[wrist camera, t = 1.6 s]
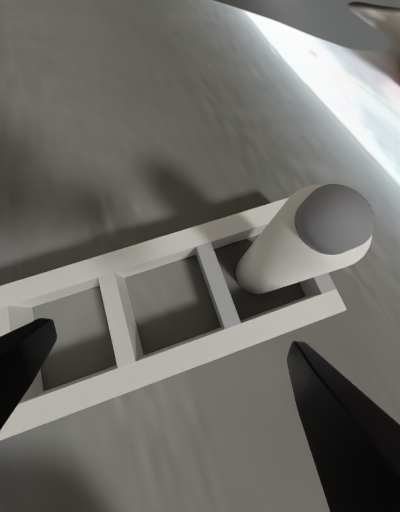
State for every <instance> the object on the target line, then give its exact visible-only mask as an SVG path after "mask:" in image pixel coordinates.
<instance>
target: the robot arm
mask: <svg viewBox="0 0 400 512" xmlns="http://www.w3.org/2000/svg"><path fill="white" fill-rule="evenodd" d="M56 339H57V334H56V330H55V326H54V322H53V320H52V319H47V318H39V319H37V320H35V321H32V322H30V323H28V324H26V325H24V326H22V327H20V328H17V329H15V330H13V331H11V332H9V333H7V334H5V335H2V336H0V430H1V429H2V427H3V426H4V424H5V423H6V421H7V420H8V418H9V417H10V415H11V414H12V413H13V411H14V410H15V408H16V407H17V405H18V404H19V402H20V401H21V399H22V398H23V396H24V395H25V393H26V392H27V391H28V389H29V387H30V386H31V384H32V383H33V381H34V379H35V378H36V376H37V374H38V373H39V371H40V369H41V367H42V365H43V364H44V362H45V360H46V358H47V356H48V355H49V353H50V351H51V349H52V348H53V346H54V344H55V342H56ZM287 364H288V369H289V374H290V378H291V383H292V387H293V392H294V397H295V401H296V405H297V409H298V412H299V416H300V419H301V422H302V425H303V428H304V431H305V434H306V437H307V441H308V444H309V447H310V450H311V453H312V456H313V459H314V462H315V465H316V469H317V472H318V475H319V478H320V481H321V484H322V487H323V490H324V494H325V497H326V500H327V503H328V506H329V509H330V512H400V425H399V424H398V423H397V422H396V421H395V420H394V419H393V418H391V417H390V416H389V415H388V414H387V413H386V412H385V411H383V410H382V409H381V408H380V407H379V406H378V405H376V404H375V403H374V402H373V401H372V400H371V399H370V398H368V397H367V396H366V395H365V394H364V393H363V392H362V391H360V390H359V389H358V388H357V387H356V386H355V385H354V384H352V383H351V382H350V381H349V380H348V379H347V378H346V377H344V376H343V375H342V374H341V373H340V372H339V371H338V370H336V369H335V368H334V367H333V366H332V365H331V364H330V363H328V362H327V361H326V360H325V359H324V358H323V357H322V356H320V355H319V354H318V353H317V352H316V351H315V350H314V349H312V348H311V347H310V346H309V345H308V344H307V343H305V342H301V341H293V342H292V344H291V347H290V350H289V353H288V356H287Z"/></svg>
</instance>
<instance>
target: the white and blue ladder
mask: <svg viewBox="0 0 400 512" xmlns="http://www.w3.org/2000/svg"><path fill="white" fill-rule="evenodd" d="M288 199H289V198H286V199H283V200H280V201H276V202H273V203H270V204H267V205H263V206H260V207H257V208H253V209H250V210H247V211H244V212H240V213H237V214H234V215H231V216H227V217H224V218H221V219H218V220H214V221H211V222H208V223H204V224H201V225H198V226H195V227H191V228H188V229H185V230H182V231H178V232H175V233H172V234H169V235H165V236H162V237H159V238H155V239H152V240H149V241H146V242H142V243H139V244H136V245H133V246H129V247H126V248H123V249H119V250H116V251H113V252H110V253H106V254H103V255H100V256H97V257H93V258H90V259H87V260H84V261H80V262H77V263H74V264H70V265H67V266H64V267H61V268H57V269H54V270H51V271H48V272H44V273H41V274H38V275H35V276H31V277H28V278H25V279H21V280H18V281H15V282H12V283H8V284H5V285H2V286H0V336H2V335H5V334H7V333H9V332H11V331H13V330H15V329H17V328H20V327H22V326H24V325H26V324H28V323H30V322H32V321H34V315H33V308H32V307H35V306H38V305H41V304H44V303H47V302H50V301H53V300H56V299H60V298H63V297H66V296H69V295H72V294H75V293H78V292H81V291H85V290H88V289H91V288H94V287H97V286H100V289H101V293H102V298H103V303H104V307H105V312H106V316H107V321H108V326H109V330H110V335H111V339H112V344H113V348H114V353H115V358H116V362H117V365H116V366H113V367H110V368H107V369H104V370H102V371H99V372H96V373H93V374H91V375H88V376H85V377H82V378H80V379H77V380H74V381H71V382H69V383H66V384H63V385H60V386H57V387H55V388H52V389H49V390H46V391H44V390H43V383H42V375H41V369H40V371H39V373H38V374H37V376H36V378H35V379H34V381H33V383H32V384H31V386H30V387H29V389H28V391H27V392H26V393H25V395H24V396H23V398H22V399H21V401H20V402H19V404H18V405H17V407H16V408H15V410H14V411H13V413H12V414H11V415H10V417H9V418H8V420H7V421H6V423H5V424H4V426H3V427H2V429H1V430H0V440H3V439H5V438H8V437H11V436H13V435H16V434H19V433H21V432H24V431H27V430H29V429H32V428H35V427H37V426H40V425H43V424H45V423H48V422H51V421H53V420H56V419H58V418H61V417H64V416H66V415H69V414H72V413H74V412H77V411H80V410H82V409H85V408H88V407H90V406H93V405H96V404H98V403H101V402H104V401H106V400H109V399H112V398H114V397H117V396H120V395H122V394H125V393H128V392H130V391H133V390H135V389H138V388H141V387H143V386H146V385H149V384H151V383H154V382H157V381H159V380H162V379H165V378H167V377H170V376H173V375H175V374H178V373H181V372H183V371H186V370H189V369H191V368H194V367H197V366H199V365H202V364H205V363H207V362H210V361H212V360H215V359H218V358H220V357H223V356H226V355H228V354H231V353H234V352H236V351H239V350H242V349H244V348H247V347H250V346H252V345H255V344H258V343H260V342H263V341H266V340H268V339H271V338H274V337H276V336H279V335H282V334H284V333H287V332H290V331H292V330H295V329H297V328H300V327H303V326H305V325H308V324H311V323H313V322H316V321H319V320H321V319H324V318H327V317H329V316H332V315H335V314H337V313H340V312H343V311H345V310H347V309H346V307H345V305H344V303H343V301H342V299H341V297H340V295H339V293H338V291H337V289H336V287H335V285H334V283H333V281H332V279H331V277H330V275H329V273H325V274H322V275H319V276H316V277H313V278H310V279H307V280H303V281H300V282H299V283H300V285H301V287H302V290H303V292H304V294H305V296H306V297H304V298H301V299H298V300H295V301H293V302H290V303H287V304H284V305H282V306H279V307H276V308H273V309H271V310H268V311H265V312H262V313H259V314H257V315H254V316H251V317H248V318H246V319H243V320H240V319H239V317H238V314H237V311H236V308H235V306H234V303H233V300H232V298H231V295H230V292H229V290H228V287H227V284H226V281H225V279H224V276H223V273H222V271H221V268H220V265H219V263H218V260H217V257H216V254H215V252H214V249H216V248H219V247H222V246H225V245H228V244H231V243H234V242H237V241H241V240H244V239H247V238H250V237H253V236H256V235H259V234H261V233H262V231H263V230H264V229H265V228H266V226H267V225H268V224H269V222H270V221H271V220H272V219H273V217H274V216H275V215H276V214H277V212H278V211H279V210H280V209H281V207H282V206H283V205H284V204H285V202H286V201H287V200H288ZM194 255H196V256H197V259H198V262H199V265H200V268H201V270H202V273H203V276H204V279H205V282H206V285H207V288H208V291H209V294H210V296H211V299H212V302H213V305H214V308H215V311H216V314H217V317H218V320H219V322H220V325H221V328H218V329H215V330H212V331H210V332H207V333H204V334H201V335H199V336H196V337H193V338H190V339H188V340H185V341H182V342H179V343H176V344H174V345H171V346H168V347H165V348H163V349H160V350H157V351H154V352H152V353H149V354H146V355H144V354H143V350H142V346H141V342H140V338H139V334H138V330H137V326H136V322H135V318H134V314H133V310H132V306H131V302H130V298H129V294H128V290H127V286H126V282H125V277H128V276H131V275H134V274H138V273H141V272H144V271H147V270H150V269H153V268H156V267H159V266H163V265H166V264H169V263H172V262H175V261H178V260H181V259H184V258H188V257H191V256H194Z"/></svg>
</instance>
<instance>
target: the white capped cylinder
mask: <svg viewBox="0 0 400 512" xmlns="http://www.w3.org/2000/svg"><path fill="white" fill-rule="evenodd" d="M374 227H375V217H374V213H373V210H372V208H371V206H370V204H369V203H368V201H367V200H366V199H365V198H364V197H363V196H362V195H361V194H359V193H358V192H357V191H355V190H353V189H351V188H349V187H346V186H343V185H338V184H329V185H310V186H306V187H304V188H301V189H299V190H297V191H296V192H295V193H293V194H292V195H291V196H290V197H289V199H288V200H287V201H286V202H285V204H284V205H283V206H282V207H281V209H280V210H279V211H278V212H277V214H276V215H275V216H274V217H273V219H272V220H271V221H270V222H269V224H268V225H267V226H266V228H265V229H264V230H263V231H262V233H261V234H260V235H259V236H258V238H257V239H256V240H255V241H254V243H253V244H252V245H251V246H250V248H249V249H248V250H247V251H246V253H245V254H244V255H243V256H242V258H241V259H240V260H239V262H238V263H237V266H236V270H235V275H236V279H237V281H238V283H239V285H240V286H241V287H242V288H243V289H244V290H245V291H247V292H249V293H252V294H263V293H266V292H269V291H272V290H276V289H279V288H282V287H285V286H288V285H291V284H294V283H297V282H300V281H303V280H307V279H310V278H313V277H316V276H319V275H322V274H325V273H328V272H331V271H334V270H338V269H341V268H344V267H347V266H350V265H352V264H354V263H356V262H357V261H359V260H360V259H361V258H362V257H363V256H364V255H365V254H366V252H367V250H368V249H369V246H370V244H371V239H372V234H373V231H374Z"/></svg>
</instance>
